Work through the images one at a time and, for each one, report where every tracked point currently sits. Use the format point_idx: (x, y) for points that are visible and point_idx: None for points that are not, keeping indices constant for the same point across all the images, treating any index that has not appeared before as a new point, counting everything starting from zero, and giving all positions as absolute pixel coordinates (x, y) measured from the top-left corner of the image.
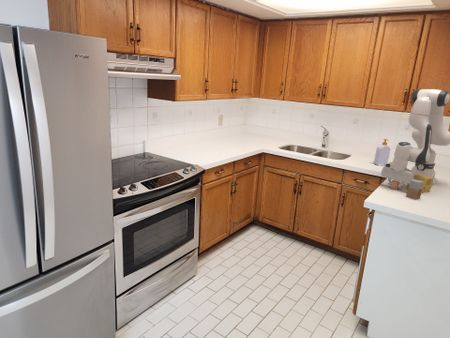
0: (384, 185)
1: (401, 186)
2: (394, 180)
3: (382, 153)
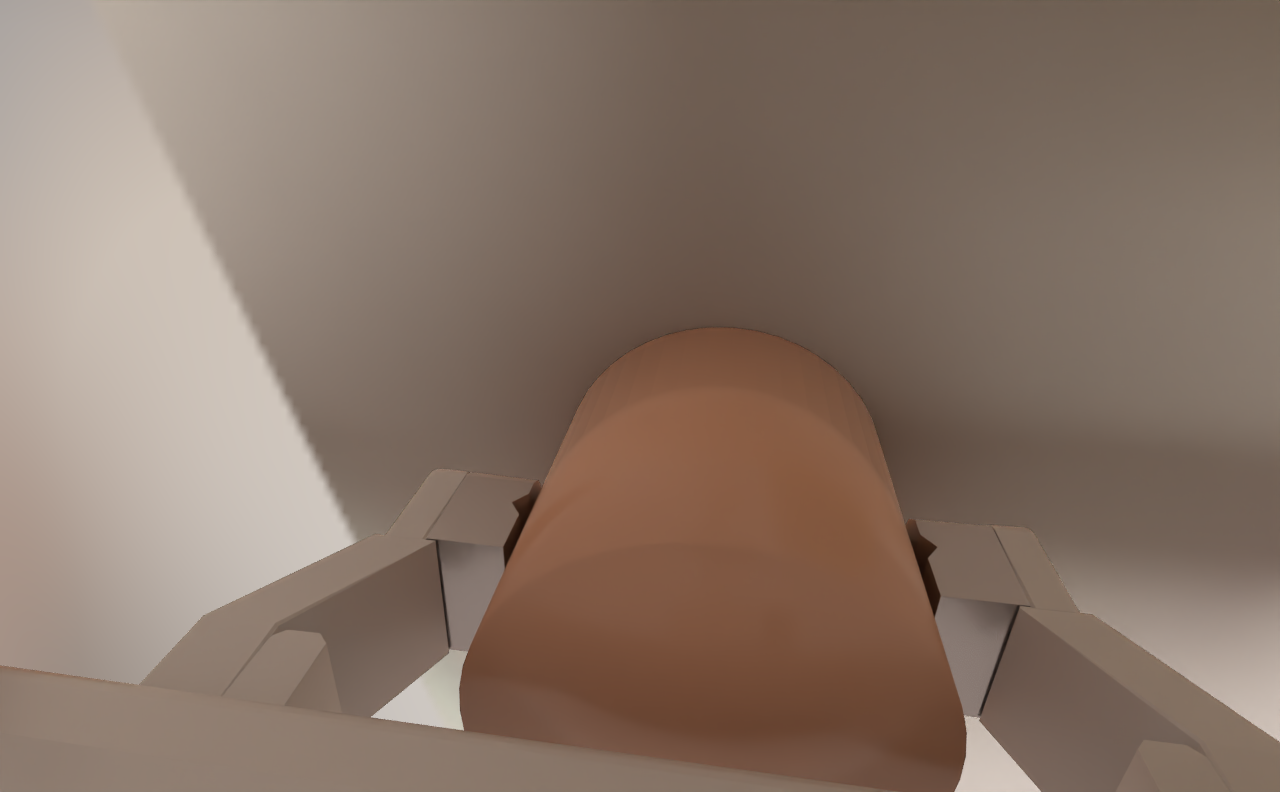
0: (328, 435)
1: (1045, 555)
2: (552, 627)
3: None
